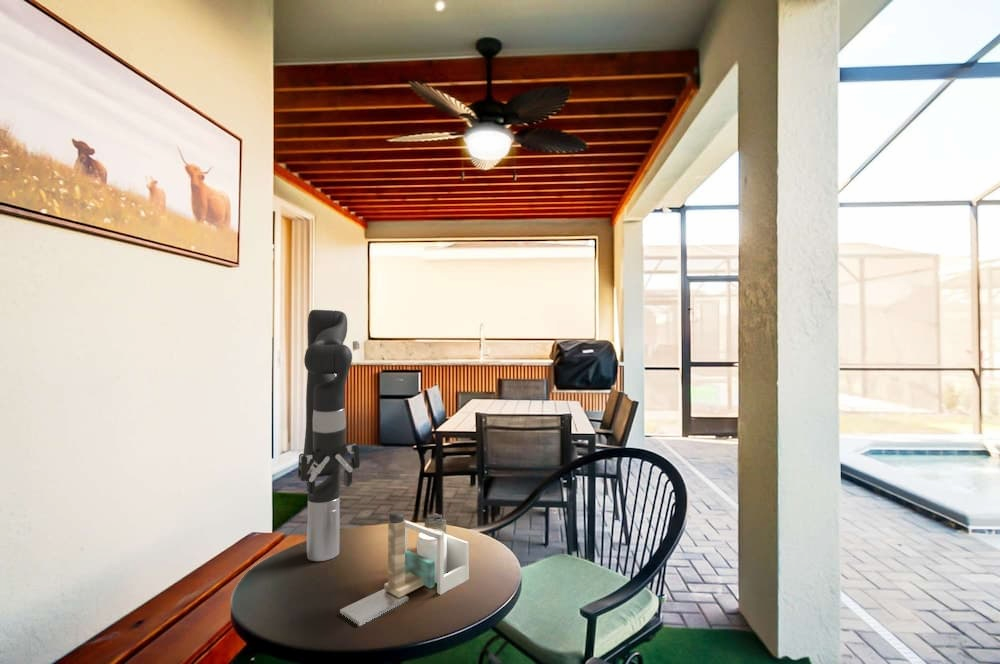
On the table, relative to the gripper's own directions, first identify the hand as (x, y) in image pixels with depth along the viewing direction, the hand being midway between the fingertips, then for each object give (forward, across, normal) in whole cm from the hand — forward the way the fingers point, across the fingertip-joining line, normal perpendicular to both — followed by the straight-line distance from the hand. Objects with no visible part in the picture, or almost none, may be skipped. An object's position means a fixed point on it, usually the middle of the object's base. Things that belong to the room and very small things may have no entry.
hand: (329, 490), depth 115 cm
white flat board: (+28, -7, +11) cm, 30 cm away
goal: (+29, -25, +8) cm, 40 cm away
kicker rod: (+27, -16, +9) cm, 33 cm away
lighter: (+33, -36, -9) cm, 50 cm away
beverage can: (+29, -25, +8) cm, 39 cm away
